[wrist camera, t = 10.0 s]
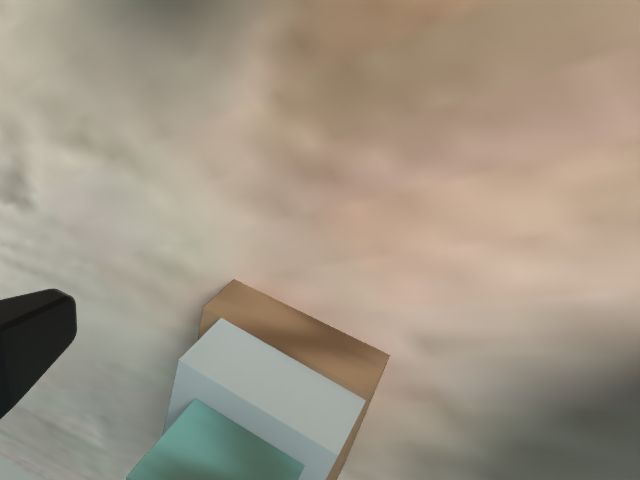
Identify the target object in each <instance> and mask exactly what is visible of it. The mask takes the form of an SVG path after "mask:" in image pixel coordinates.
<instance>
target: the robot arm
mask: <svg viewBox="0 0 640 480" xmlns="http://www.w3.org/2000/svg"><path fill="white" fill-rule="evenodd" d="M76 332H77V319H76V303H75V300H74V298H73V297H72V296H70V295H68V294H66V293H64V292H62V291H60V290H58V289H47V290H43V291H38V292H34V293H29V294H25V295H20V296H16V297H11V298H7V299H2V300H0V419H1V418H2V417H3V416H4V415H5V414H6V413H7V412H9V411H10V410H11V409H12V408H13V407H14V406H15V405H16V404H17V402H18V401H19V400H20V399H21V398H22V397H23V396H24V395H25V394H26V393H27V392H28V391H29V390H30V388H31V387H32V386H33V385H34V384H35V383H36V382H37V381H38V380H39V378H40V377H41V376H42V375H43V374H44V373H45V372H46V371H47V370H48V368H49V367H50V366H51V365H52V364H53V363H54V362H55V361H56V360H57V359H58V357H59V356H60V355H61V354H62V353H63V352H64V351H65V350H66V349H67V347H68V346H69V345H70V344H71V343H72V341H73V340H74V338H75V336H76Z"/></svg>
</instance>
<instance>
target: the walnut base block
mask: <svg viewBox="0 0 640 480" xmlns="http://www.w3.org/2000/svg"><path fill="white" fill-rule="evenodd" d="M220 318H223V319H225V320H226V321H228V322H230V323H232V324H233V325H235V326H237V327H239V328H240V329H242V330H244V331H246V332H247V333H249V334H251V335H253V336H254V337H256V338H258V339H260V340H261V341H263V342H265V343H267V344H268V345H270V346H272V347H274V348H275V349H277V350H279V351H280V352H282V353H284V354H286V355H287V356H289V357H291V358H293V359H294V360H296V361H298V362H300V363H301V364H303V365H305V366H307V367H308V368H310V369H312V370H314V371H315V372H317V373H319V374H321V375H322V376H324V377H326V378H328V379H329V380H331V381H333V382H335V383H336V384H338V385H340V386H342V387H343V388H345V389H347V390H349V391H350V392H352V393H354V394H356V395H357V396H359V397H361V398H363V399H364V400H366V402H365V404H364V406H363V408H362V410H361V412H360V414H359V416H358V418H357V420H356V422H355V424H354V426H353V428H352V430H351V432H350V434H349V436H348V437H347V439H346V441H345V443H344V445H343V447H342V449H341V451H340V453H339V455H338V457H337V459H336V461H335V463H334V465H333V467H332V469H331V470H330V472H329V474H328V476H327V478H326V480H337V478H338V476H339V474H340V472H341V470H342V468H343V466H344V464H345V461H346V459H347V456H348V454H349V452H350V449H351V447H352V445H353V442H354V440H355V437H356V435H357V433H358V430H359V428H360V425H361V423H362V421H363V418H364V416H365V414H366V411H367V409H368V406H369V404H370V402H371V399H372V397H373V395H374V392H375V390H376V387H377V385H378V383H379V380H380V378H381V376H382V373H383V371H384V368H385V366H386V364H387V361H388V359H389V356H390V355H388V354H386V353H384V352H382V351H380V350H378V349H376V348H374V347H372V346H370V345H368V344H366V343H364V342H361V341H359V340H357V339H355V338H353V337H351V336H349V335H347V334H345V333H343V332H341V331H339V330H337V329H335V328H333V327H331V326H329V325H327V324H325V323H323V322H321V321H319V320H316V319H314V318H312V317H310V316H308V315H306V314H304V313H302V312H300V311H298V310H296V309H294V308H292V307H290V306H288V305H286V304H284V303H282V302H280V301H278V300H276V299H274V298H272V297H269V296H267V295H265V294H263V293H261V292H259V291H257V290H255V289H253V288H251V287H249V286H247V285H245V284H243V283H241V282H239V281H237V280H235V279H234V280H233V281H232V282H231V283H230V284H228V285H227V286H226V287H225V288H224V289H223V290H222V291H221V292H220V293H219V294H218V295H216V296H215V297H214V298H213V299H212V300H211V301H210V302H209V303H208V304H207V305H206V306H204V307H203V310H202V316H201V323H200V330H199V336H198V340H199V339H200V338H201V337H202V336H203V335H204V334H205V333H206V332H207V331H208V330H209V329H210V328H211V327H212V326H213V325H214V324H215V323H216V322H217V321H218V320H219V319H220Z"/></svg>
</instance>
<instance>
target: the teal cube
mask: <svg viewBox="0 0 640 480" xmlns="http://www.w3.org/2000/svg"><path fill="white" fill-rule="evenodd" d="M304 467H305V465H303V464H302V463H300V462H298V461H297V460H295V459H294V458H292V457H290V456H289V455H287V454H285V453H284V452H282V451H281V450H279V449H277V448H276V447H274V446H272V445H271V444H269V443H268V442H266V441H264V440H263V439H261V438H259V437H258V436H256V435H255V434H253V433H251V432H250V431H248V430H246V429H245V428H243V427H242V426H240V425H238V424H237V423H235V422H233V421H232V420H230V419H229V418H227V417H225V416H224V415H222V414H220V413H219V412H217V411H216V410H214V409H212V408H211V407H209V406H208V405H206V404H204V403H203V402H201V401H199V400H198V399H196V398H195V400H194V401H193V402H192V403H191V404H190V405H189V406H188V408H187V409H186V410H185V411H184V412H183V413H182V414H181V415H180V417H179V418H178V419H177V420H176V421H175V422H174V423H173V425H172V426H171V427H170V428H169V429H168V430H167V431H166V432H165V434H164V435H163V436H162V437H161V438H160V439H159V440H158V442H157V443H156V444H155V445H154V446H153V447H152V448H151V449H150V451H149V452H148V453H147V454H146V455H145V456H144V457H143V459H142V460H141V461H140V462H139V463H138V464H137V465H136V466H135V468H134V469H133V470H132V471H131V472H130V473H129V474H128V476H127V477H126V480H298V479H299V477H300V475H301V473H302V471H303V469H304Z"/></svg>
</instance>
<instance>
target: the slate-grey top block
mask: <svg viewBox="0 0 640 480" xmlns="http://www.w3.org/2000/svg"><path fill="white" fill-rule="evenodd" d="M195 398H196V399H198V400H199V401H201V402H203V403H204V404H206V405H208V406H209V407H211V408H212V409H214V410H216V411H217V412H219V413H220V414H222V415H224V416H225V417H227V418H229V419H230V420H232V421H233V422H235V423H237V424H238V425H240V426H242V427H243V428H245V429H246V430H248V431H250V432H251V433H253V434H255V435H256V436H258V437H259V438H261V439H263V440H264V441H266V442H268V443H269V444H271V445H272V446H274V447H276V448H277V449H279V450H281V451H282V452H284V453H285V454H287V455H289V456H290V457H292V458H294V459H295V460H297V461H298V462H300V463H302V464H303V465H305V467H304V469H303V471H302V473H301V475H300V477H299V479H298V480H326V478H327V476H328V474H329V472H330V470H331V469H332V467H333V465H334V463H335V461H336V459H337V457H338V455H339V453H340V451H341V449H342V447H343V445H344V443H345V441H346V439H347V437H348V436H349V434H350V432H351V430H352V428H353V426H354V424H355V422H356V420H357V418H358V416H359V414H360V412H361V410H362V408H363V406H364V404H365V402H366V400H364V399H363V398H361V397H359V396H357V395H356V394H354V393H352V392H350V391H349V390H347V389H345V388H343V387H342V386H340V385H338V384H336V383H335V382H333V381H331V380H329V379H328V378H326V377H324V376H322V375H321V374H319V373H317V372H315V371H314V370H312V369H310V368H308V367H307V366H305V365H303V364H301V363H300V362H298V361H296V360H294V359H293V358H291V357H289V356H287V355H286V354H284V353H282V352H280V351H279V350H277V349H275V348H274V347H272V346H270V345H268V344H267V343H265V342H263V341H261V340H260V339H258V338H256V337H254V336H253V335H251V334H249V333H247V332H246V331H244V330H242V329H240V328H239V327H237V326H235V325H233V324H232V323H230V322H228V321H226V320H225V319H223V318H220V319H219V320H218V321H217V322H216V323H215V324H214V325H213V326H212V327H211V328H210V329H209V330H208V331H207V332H206V333H205V334H204V335H203V336H202V337H201V338H200V339H199V340H198V341H197V342H196V343H195V344H194V345H193V346H192V347H191V348H190V349H189V350H188V351H187V352H186V353H185V354H184V355H183V356H182V357H181V358H180V359H179V361H178V365H177V370H176V375H175V379H174V384H173V389H172V393H171V398H170V403H169V407H168V412H167V416H166V421H165V426H164V430H163V435H164V434H165V432H166V431H167V430H168V429H169V428H170V427H171V426H172V425H173V423H174V422H175V421H176V420H177V419H178V418H179V417H180V415H181V414H182V413H183V412H184V411H185V410H186V409H187V408H188V406H189V405H190V404H191V403H192V402H193V401H194V400H195ZM163 435H162V436H163Z"/></svg>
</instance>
